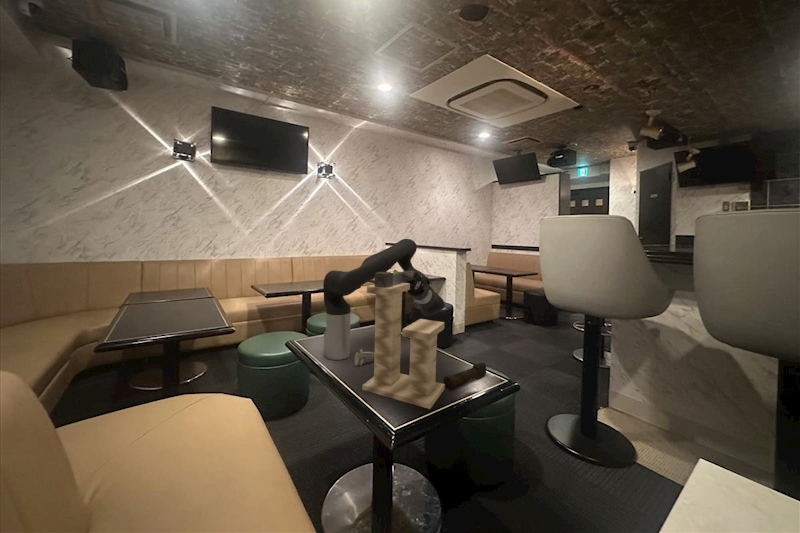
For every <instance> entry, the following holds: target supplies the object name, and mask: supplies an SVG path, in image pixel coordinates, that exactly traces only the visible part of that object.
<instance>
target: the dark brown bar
mask: <svg viewBox="0 0 800 533" xmlns="http://www.w3.org/2000/svg"><path fill="white" fill-rule="evenodd" d="M486 374H487V365H486V363H484V362H479V363H475V364H473V365H472V367H471V368H469V369H465V370H463V371H460V372H456V373H454V374H451V375H444V376H443V384H445V388H446V389H447V390H452V389H455V388H456V387H457V386H459V385H463V384H465V383H467V382H470V381H473V380H480V379H482V378H483V377H484V376H485V375H486Z"/></svg>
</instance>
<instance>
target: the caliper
mask: <svg viewBox="0 0 800 533" xmlns="http://www.w3.org/2000/svg"><path fill="white" fill-rule="evenodd" d="M374 353H375V352H373V351H363V349H357V352H355V356H354V366H355V367H358V366H359V367H361V366H362V365H363V364H364V361H365V360H373V359H374ZM400 356H402V354H401V353H400Z"/></svg>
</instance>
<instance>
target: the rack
mask: <svg viewBox="0 0 800 533" xmlns="http://www.w3.org/2000/svg"><path fill="white" fill-rule="evenodd" d="M407 290H410V283H399V284H395V285H393V286H391V287H387V288H384V287H374V284H369V285H366V294H371V295H375V303H374V304H375V311H374V312H375V313H374V352H373V353H374V357H373V359H374V360H373V361H374V362H373V365H374V366H373V368H374V369H373V377H371V378H370V379H369V380H367V381H366V382H364V383H363V384H362V386H361V388H362V389H361V390H362V391H365V392H369V393H372V394H376V395H379V396H382V397H386V398H390V399H393V400H397V401H399V402H404V403H408V404H410V405H414V406H417V407H421V408H425V409H429V410H431V409H432V407H433V406H434V404H436V403H437V402H436V401H438V399H439V398H440V396H441V395H442V393H443V392H444V391H445V389H446V387H445V384H444V383H441V382H437V381H436V377H437V376H436V374H437V373H436V372H437V371H436V370H437V350H438V349H437V346H438V334H439V333H441V332H442V331H443V330H444V329H445V321H438V320H433V319H432V320H431V319H424V318H419V319H417V320H415V321H414V322H412V323H411V324H409V325H407V326H406V327H404V328H402V310H403V309H402V308H403V302H402V301H403V292H407ZM402 337H405V338H410V340H409V342H410V344H409V346H410V347H409V371H408V372H409V374H404V373H402V372H401V355H400V354H401V346H402V345H401V344H402V342H401V341H402Z"/></svg>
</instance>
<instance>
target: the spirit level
mask: <svg viewBox="0 0 800 533" xmlns="http://www.w3.org/2000/svg"><path fill="white" fill-rule="evenodd" d="M397 271H398V270H397ZM397 271H394V270H393V271H389V272H388V271H387V272H378V273H375V278H374V283H373V285H374V287H384V288H387V287H391V286H393V285H395V284H399V283H403V282H407V281H410V280H414V278H413V275H414V272H415V271H409V270H408V271H403V270H402V271H400V272H399V271H398V272H397Z"/></svg>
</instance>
